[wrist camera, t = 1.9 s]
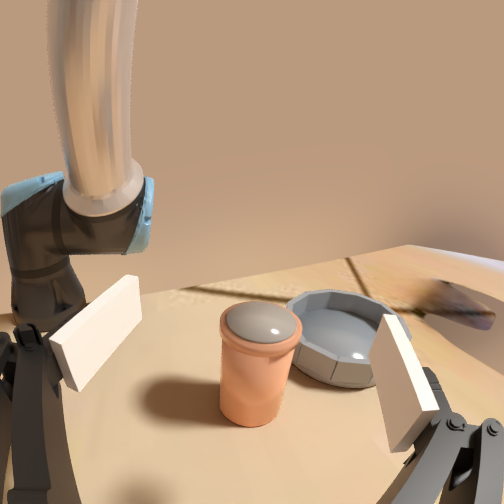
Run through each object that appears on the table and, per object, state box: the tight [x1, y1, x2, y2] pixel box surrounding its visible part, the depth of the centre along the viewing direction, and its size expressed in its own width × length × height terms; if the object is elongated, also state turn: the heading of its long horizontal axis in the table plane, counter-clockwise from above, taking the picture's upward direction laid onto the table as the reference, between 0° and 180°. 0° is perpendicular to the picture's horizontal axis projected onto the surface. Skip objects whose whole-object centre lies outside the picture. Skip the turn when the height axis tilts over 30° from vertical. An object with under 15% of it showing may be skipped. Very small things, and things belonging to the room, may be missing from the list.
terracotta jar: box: [220, 301, 303, 427], centre depth 28 cm, size 8×8×12 cm
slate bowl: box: [286, 289, 412, 388], centre depth 41 cm, size 20×20×4 cm
